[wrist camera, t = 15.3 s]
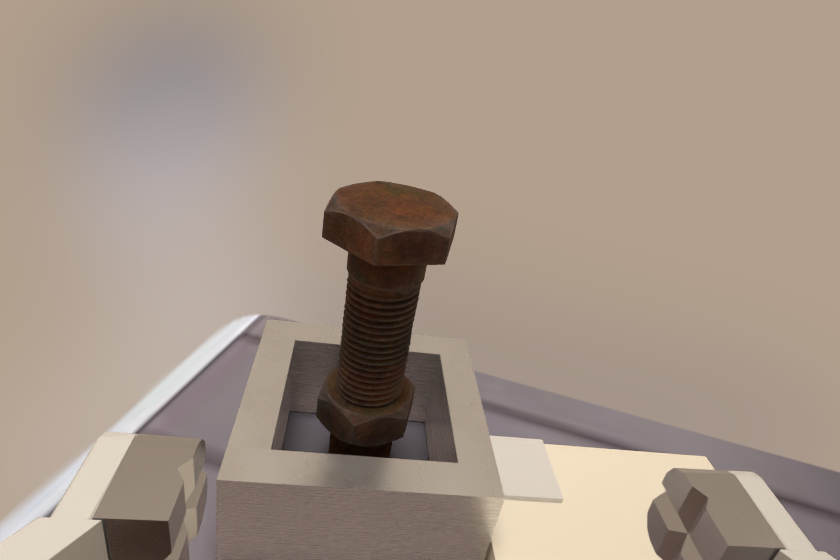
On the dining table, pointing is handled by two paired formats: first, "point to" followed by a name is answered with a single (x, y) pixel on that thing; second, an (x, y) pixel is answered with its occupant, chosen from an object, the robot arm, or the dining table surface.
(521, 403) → the dining table surface
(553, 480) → the cabinet door
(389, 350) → the bolt
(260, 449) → the hollow square frame
